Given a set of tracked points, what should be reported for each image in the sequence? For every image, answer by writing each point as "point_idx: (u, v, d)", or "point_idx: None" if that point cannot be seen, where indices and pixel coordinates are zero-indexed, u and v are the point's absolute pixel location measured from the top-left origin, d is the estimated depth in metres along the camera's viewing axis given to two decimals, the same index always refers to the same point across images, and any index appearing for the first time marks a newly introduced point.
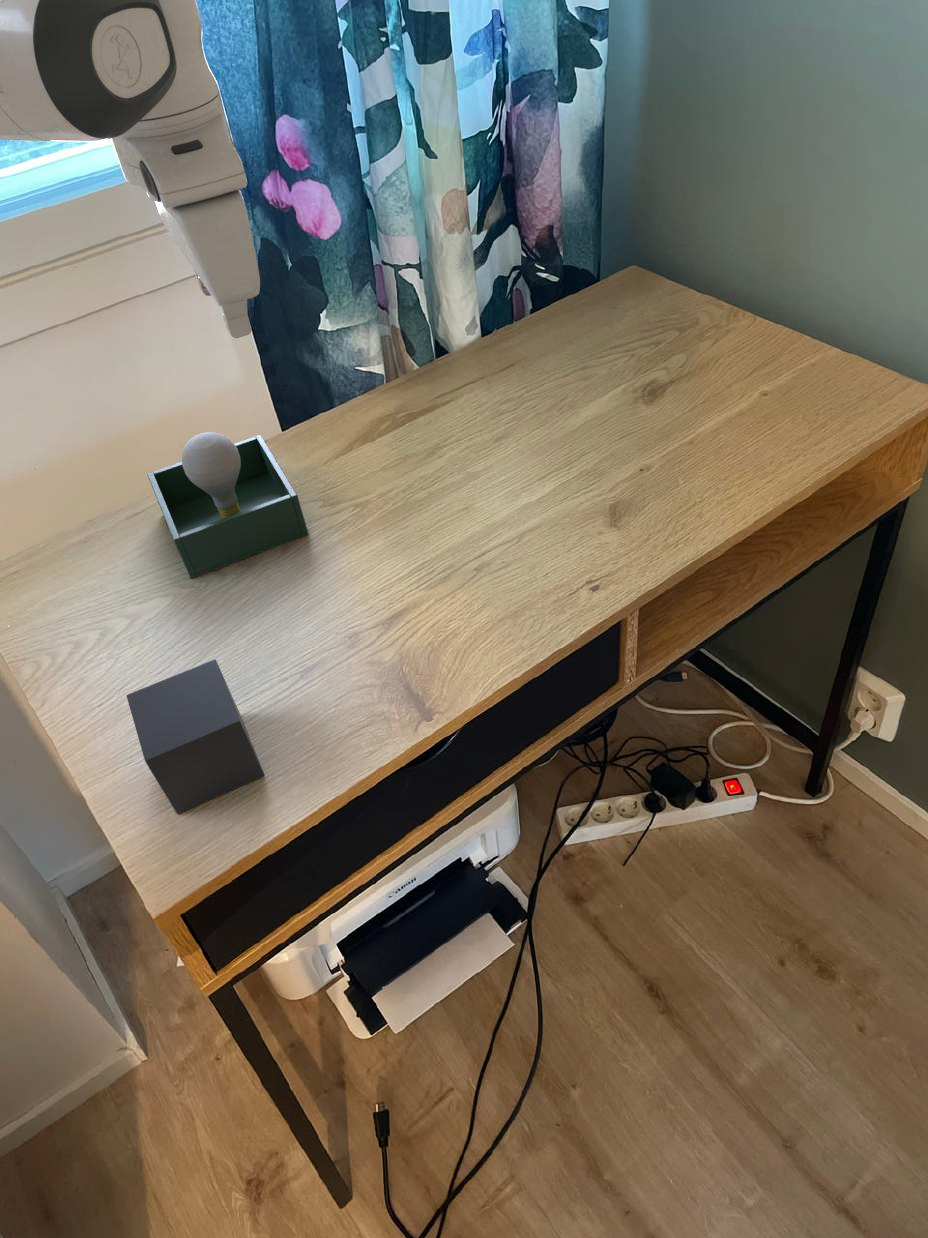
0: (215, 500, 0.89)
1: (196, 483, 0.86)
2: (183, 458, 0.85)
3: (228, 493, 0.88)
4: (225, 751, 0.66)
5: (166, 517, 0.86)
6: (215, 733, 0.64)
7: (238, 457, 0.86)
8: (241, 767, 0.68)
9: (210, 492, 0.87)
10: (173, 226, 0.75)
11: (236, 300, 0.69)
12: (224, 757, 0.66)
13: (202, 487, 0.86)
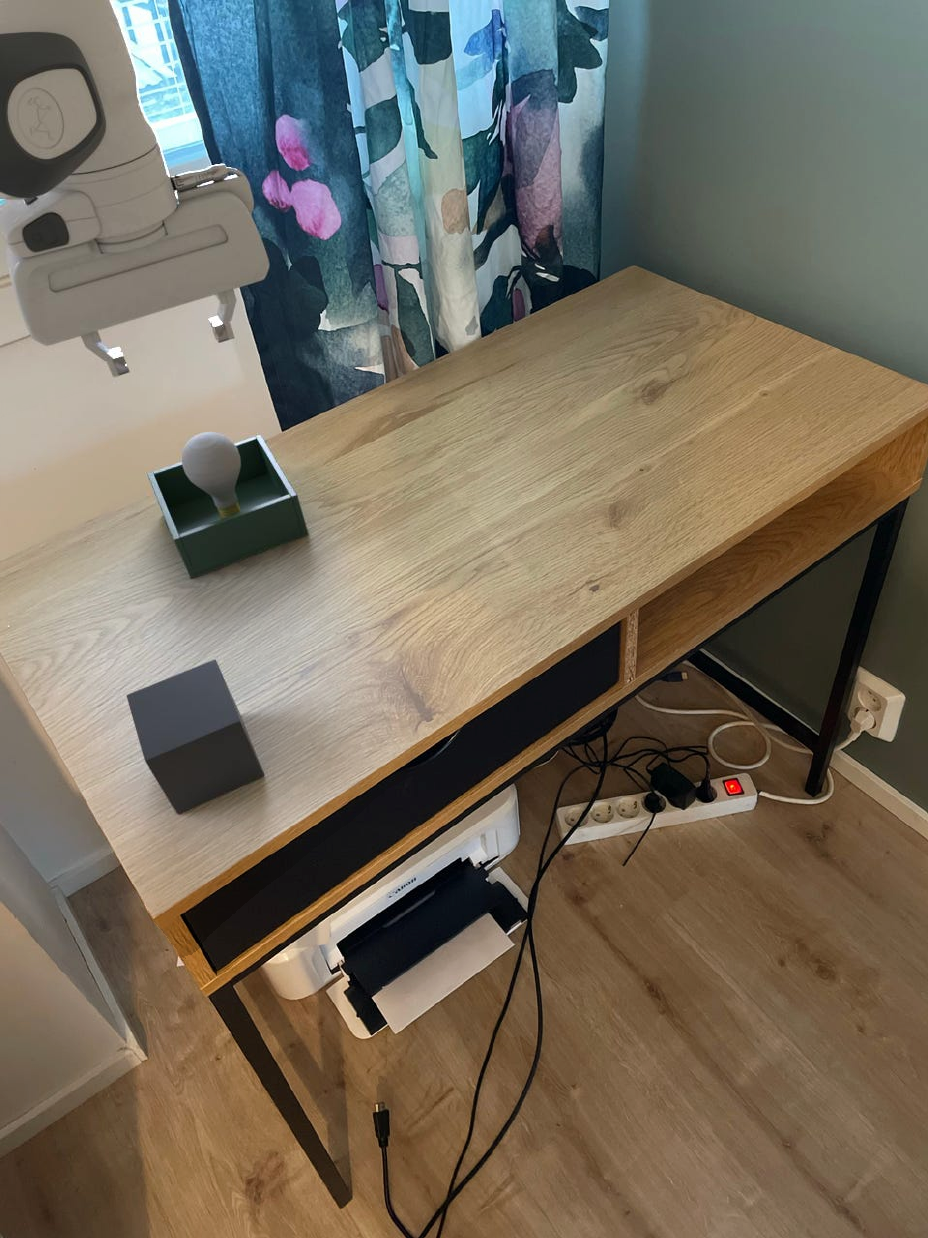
0: (215, 500, 0.89)
1: (196, 483, 0.86)
2: (183, 458, 0.85)
3: (228, 493, 0.88)
4: (225, 751, 0.66)
5: (166, 517, 0.86)
6: (215, 733, 0.64)
7: (238, 457, 0.86)
8: (241, 767, 0.68)
9: (210, 492, 0.87)
10: None
11: None
12: (224, 757, 0.66)
13: (202, 487, 0.86)
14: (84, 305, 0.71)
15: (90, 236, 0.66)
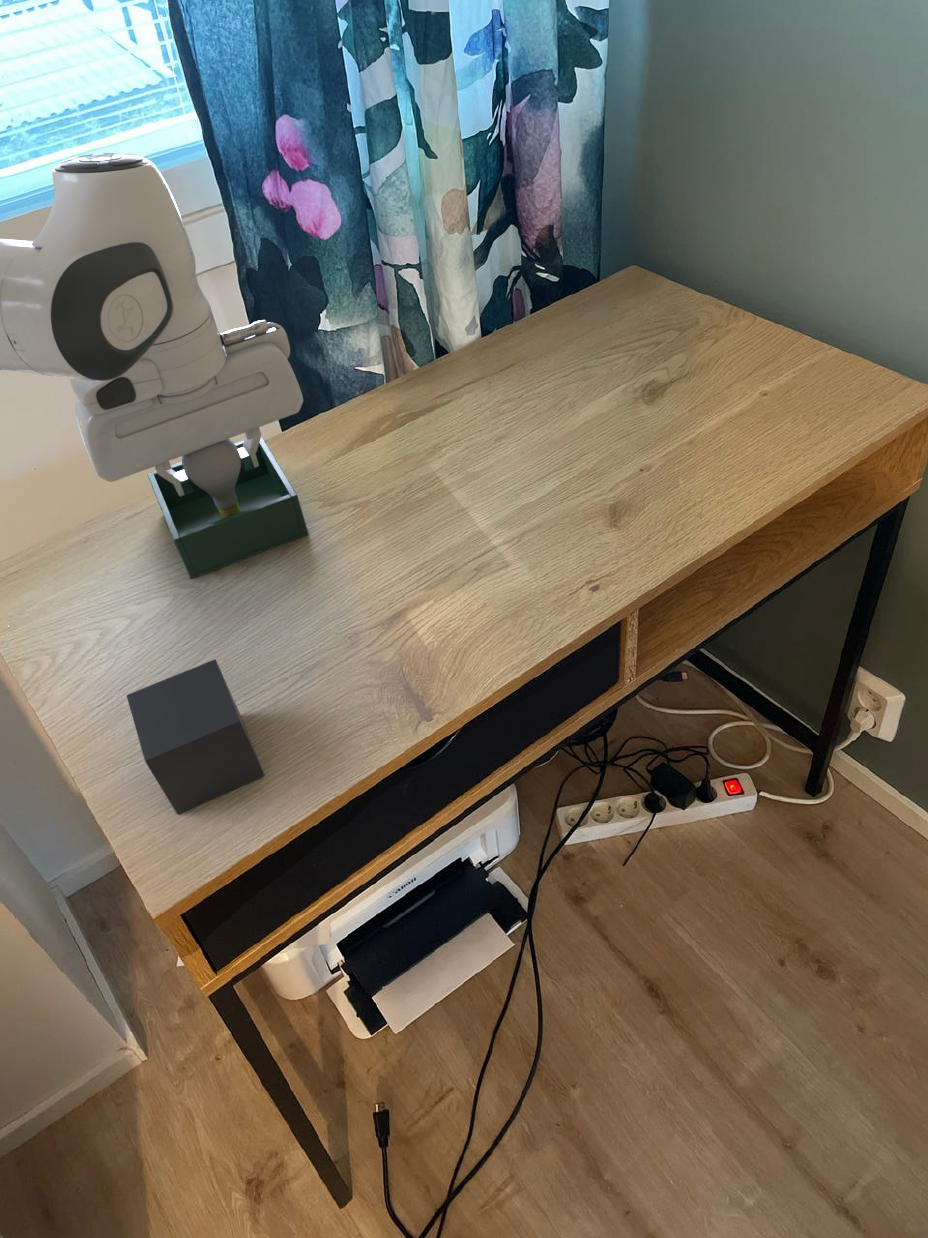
0: (215, 500, 0.89)
1: (196, 483, 0.86)
2: (183, 458, 0.85)
3: (228, 493, 0.88)
4: (225, 751, 0.66)
5: (166, 517, 0.86)
6: (215, 733, 0.64)
7: (238, 457, 0.86)
8: (241, 767, 0.68)
9: (210, 491, 0.87)
10: None
11: None
12: (224, 757, 0.66)
13: (202, 487, 0.86)
14: (144, 446, 0.80)
15: (154, 394, 0.76)
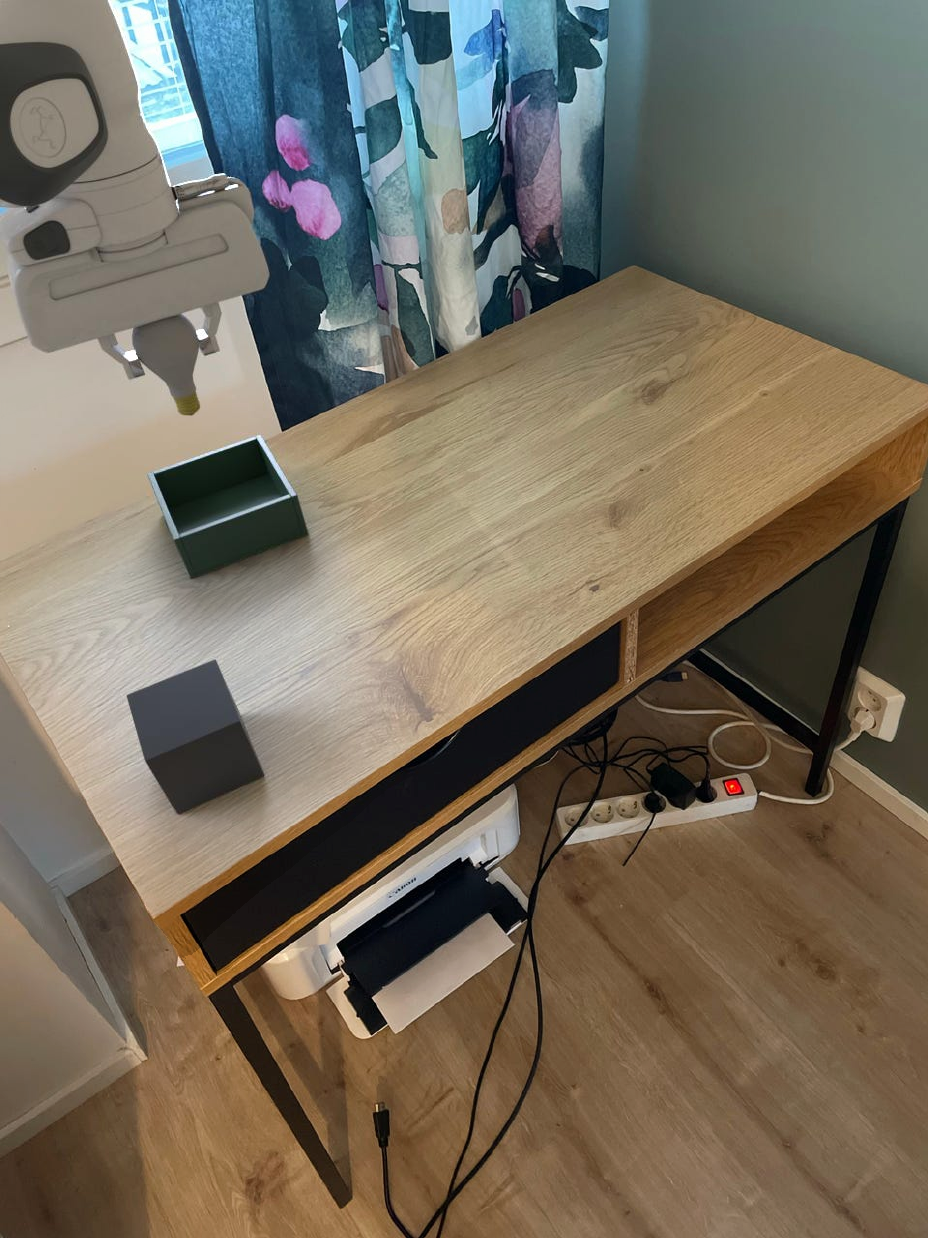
0: (170, 388, 0.80)
1: (147, 364, 0.76)
2: (133, 334, 0.76)
3: (184, 380, 0.79)
4: (225, 751, 0.66)
5: (166, 517, 0.86)
6: (215, 733, 0.64)
7: (195, 337, 0.77)
8: (241, 767, 0.68)
9: (163, 376, 0.78)
10: None
11: None
12: (224, 757, 0.66)
13: (154, 369, 0.77)
14: (84, 312, 0.71)
15: (91, 244, 0.67)
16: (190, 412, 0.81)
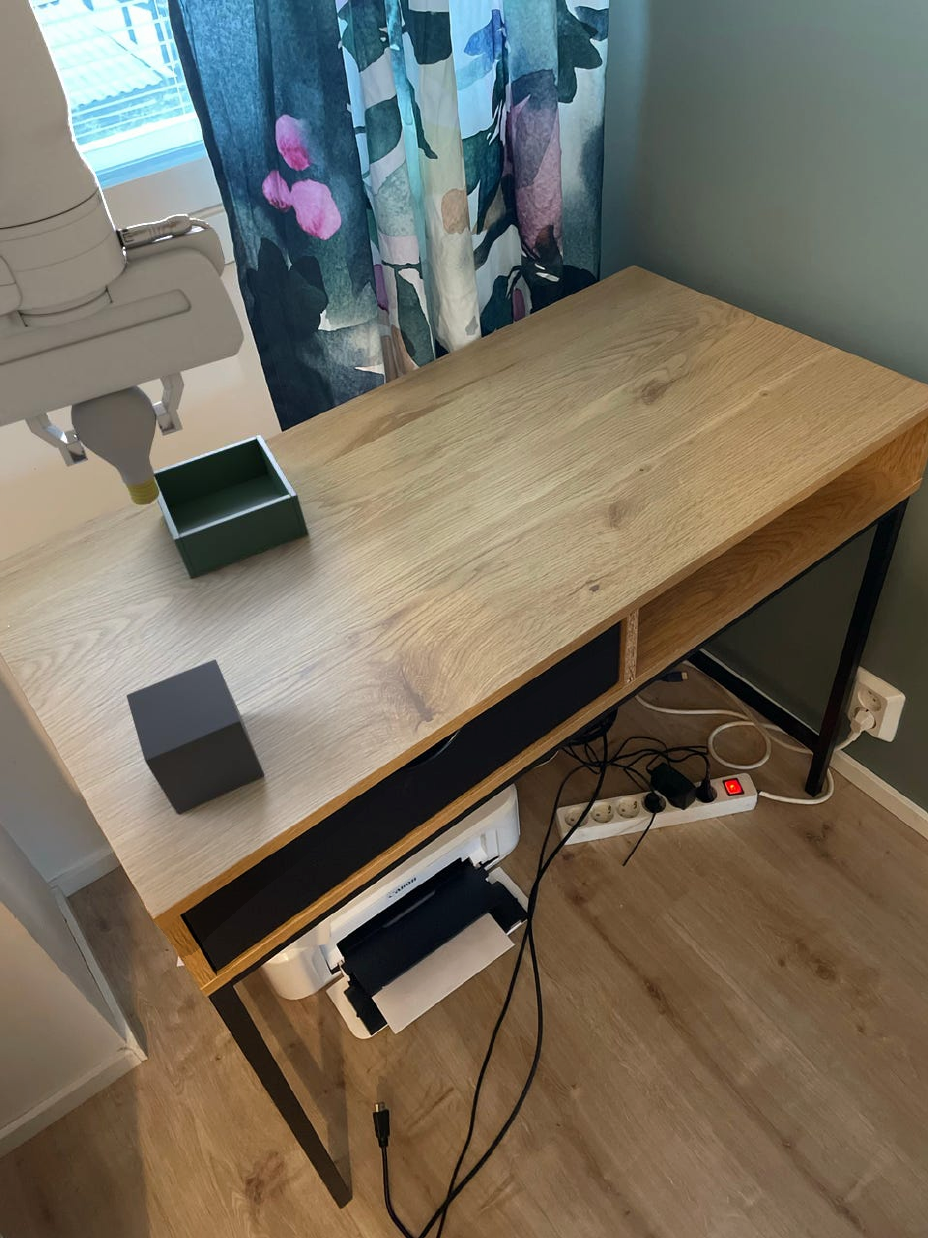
0: (121, 474, 0.64)
1: (90, 447, 0.61)
2: (71, 411, 0.60)
3: (138, 464, 0.63)
4: (225, 751, 0.66)
5: (166, 517, 0.86)
6: (215, 733, 0.64)
7: (151, 414, 0.62)
8: (241, 767, 0.68)
9: (110, 461, 0.62)
10: None
11: None
12: (224, 757, 0.66)
13: (98, 454, 0.61)
14: (5, 389, 0.56)
15: (7, 308, 0.51)
16: (146, 501, 0.66)
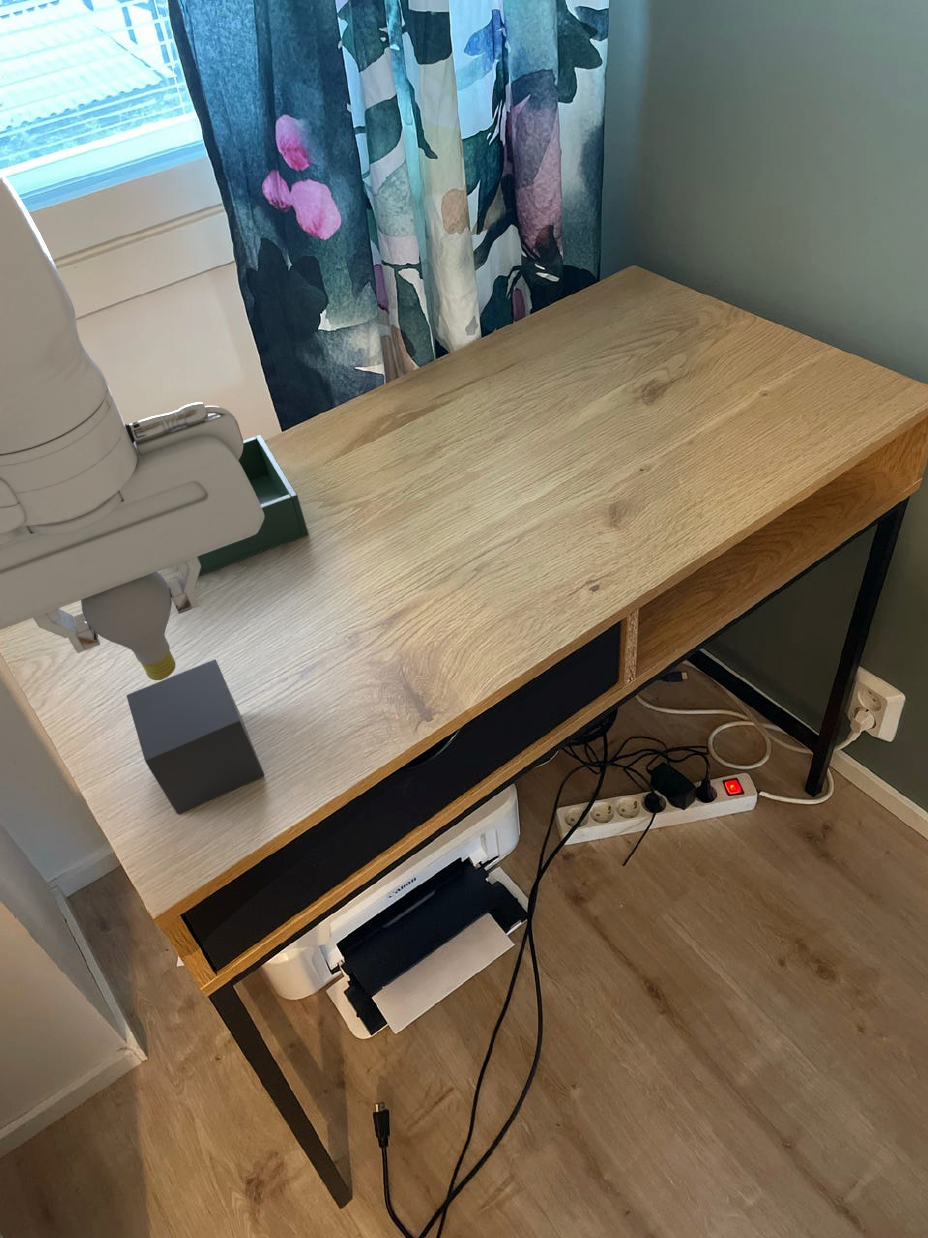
0: (135, 653, 0.60)
1: (101, 636, 0.57)
2: (81, 600, 0.57)
3: (153, 646, 0.60)
4: (225, 751, 0.66)
5: None
6: (215, 733, 0.64)
7: (166, 597, 0.58)
8: (241, 767, 0.68)
9: (124, 646, 0.59)
10: None
11: None
12: (224, 757, 0.66)
13: (111, 641, 0.58)
14: (11, 594, 0.52)
15: (11, 527, 0.47)
16: (162, 677, 0.62)
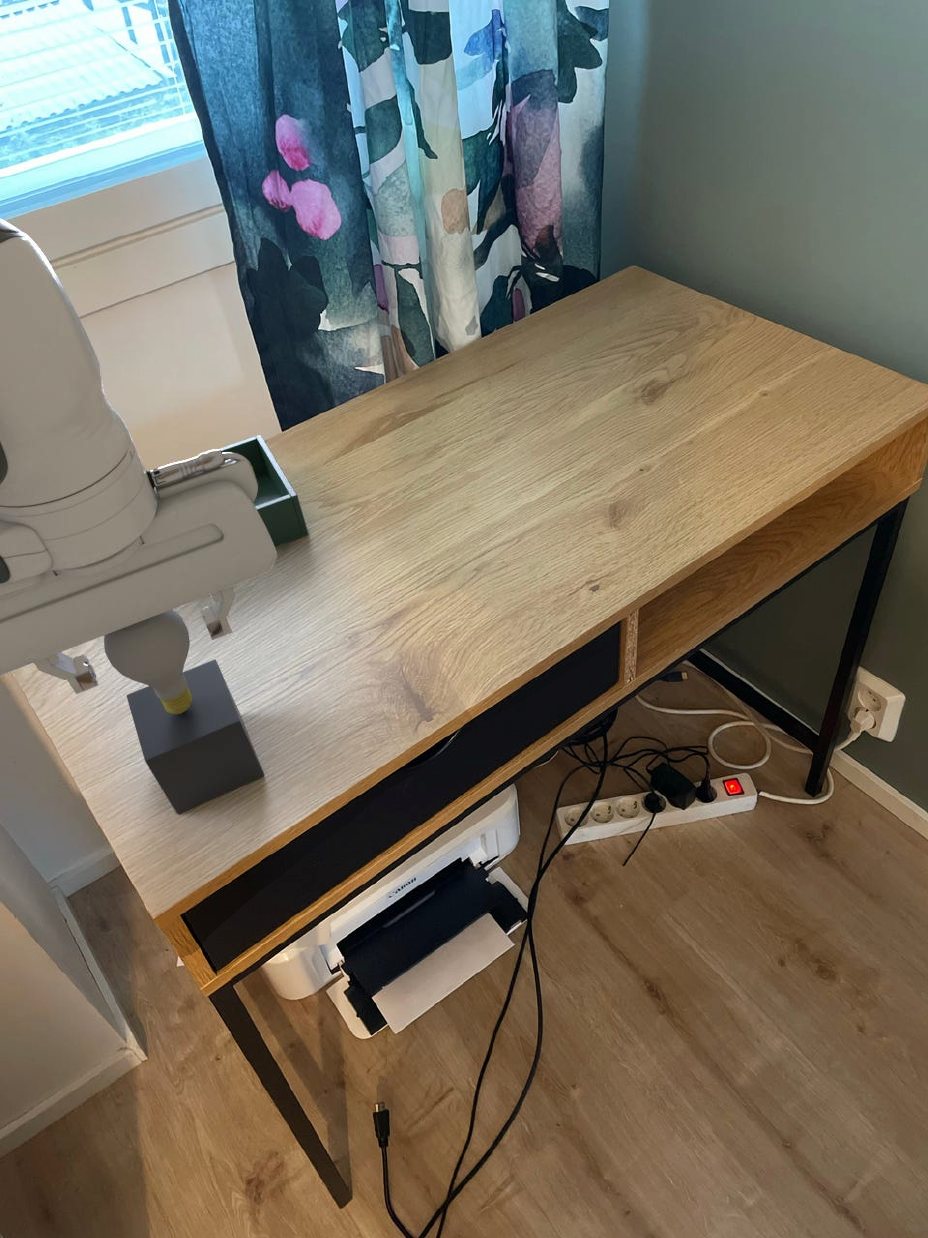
0: (154, 690, 0.63)
1: (123, 675, 0.60)
2: (104, 641, 0.59)
3: (171, 683, 0.62)
4: (225, 751, 0.66)
5: None
6: (215, 733, 0.64)
7: (185, 638, 0.60)
8: (241, 767, 0.68)
9: (144, 683, 0.61)
10: None
11: None
12: (224, 757, 0.66)
13: (132, 679, 0.60)
14: (35, 632, 0.54)
15: (38, 571, 0.50)
16: (179, 712, 0.65)
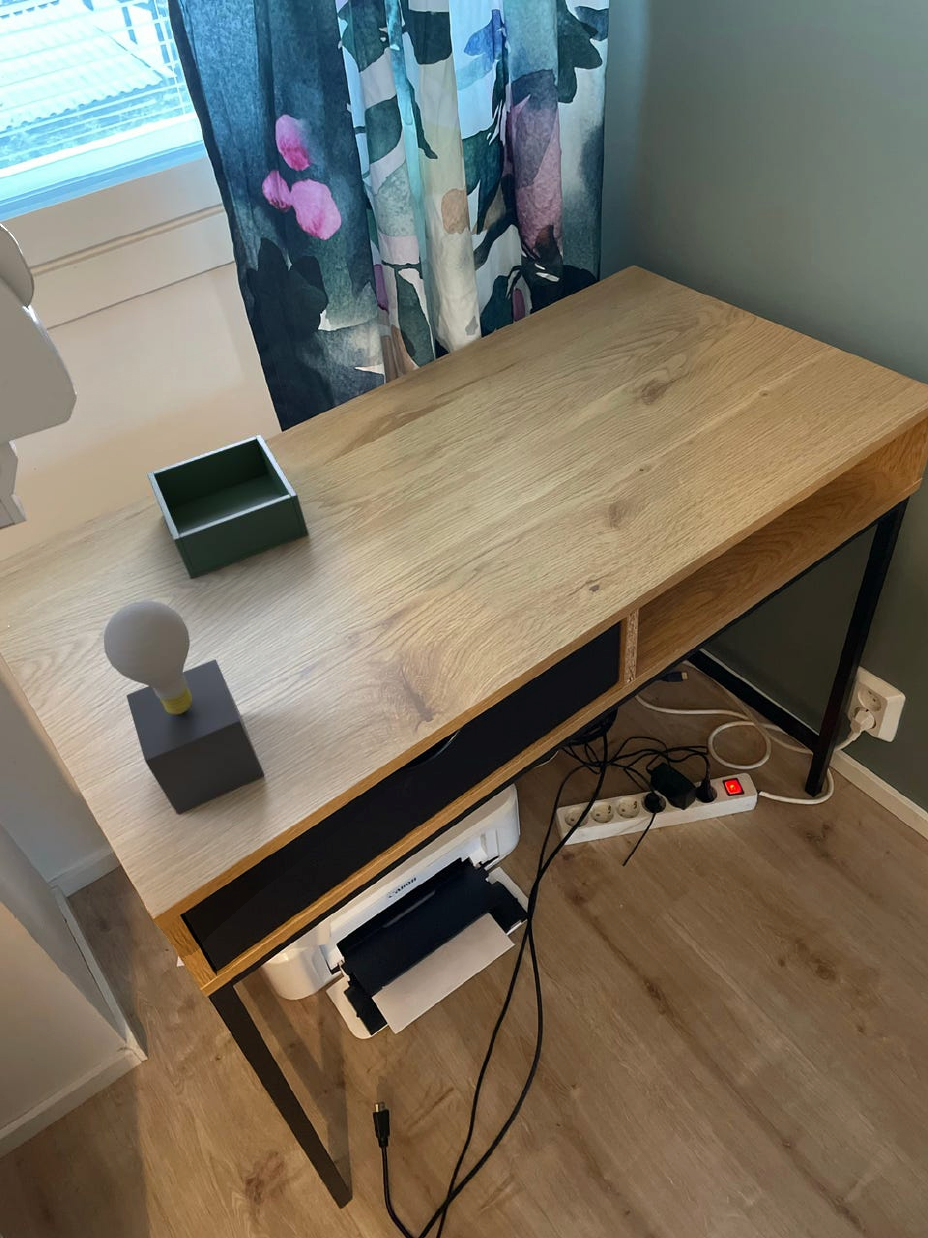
0: (154, 690, 0.63)
1: (123, 675, 0.60)
2: (104, 641, 0.59)
3: (171, 683, 0.62)
4: (225, 751, 0.66)
5: (166, 517, 0.86)
6: (215, 733, 0.64)
7: (185, 638, 0.60)
8: (241, 767, 0.68)
9: (144, 683, 0.61)
10: None
11: None
12: (224, 757, 0.66)
13: (132, 679, 0.60)
14: None
15: None
16: (179, 712, 0.65)
